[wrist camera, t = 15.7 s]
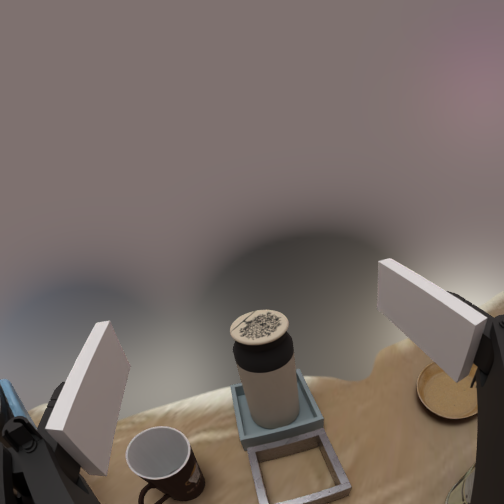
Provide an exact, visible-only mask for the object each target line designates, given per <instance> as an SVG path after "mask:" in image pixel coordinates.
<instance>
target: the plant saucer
mask: <svg viewBox="0 0 504 504" xmlns="http://www.w3.org/2000/svg"><path fill="white" fill-rule="evenodd" d="M477 368H478V367H477V366H476V365H475V364H474V363H473V365H472V368H471V370H470V373H469V375H468V376H466V377H465V378H463V379H462V380H461V381H459V382H458V383H456V382H455V381H454V380H453V379H452V378H451V377H450V376H449V375H448V374H447V373H446V372H445V371H444V370H443V369H441V368H440V367H439V366H438V365H437V364H436V363H435V362H434V361H433V362H432V363H430V364H429V365H427V366H426V367H425V368H424V369H423V370H422V371H421V373H420V375H419V377H418V380H417V392H418V395H419V397H420V399H421V401H422V403H423V404H424V405H425V406H426V407H427V408H428V409H429V410H430V411H431V412H433V413H434V414H436V415H438V416H440V417H443V418H448V419H462V418H466V417H470V416H472V415H474V414H476V413H478V408H477V388H476V382H475V383H474V385H473V388H470V386H471V382H472V380H473V378H474V375H475V373H476V370H477Z"/></svg>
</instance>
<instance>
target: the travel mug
mask: <svg viewBox="0 0 504 504" xmlns="http://www.w3.org/2000/svg"><path fill="white" fill-rule="evenodd" d="M288 325H289V323H288V320H287V318H286V317H285V316H284V315H283V314H282V313H280V312H277V311H273V310H259V311H254V312H250V313H247V314H245V315H243V316H241V317H239V318H238V319H236V320H235V321H234V322H233V324H232V325H231V328H230V333H231V336H232V337H233V339H234V340H235V343H234V346H233V352H234V356H235V360H236V364H237V368H238V371H239V375H240V379H241V382H242V386H243V389H244V393H245V396H246V400H247V403H248V407H249V410H250V414H251V417H252V419H253V421H254V422H255V423H256V424H257V425H259V426H261V427H264V428H268V429H276V428H280V427H284V426H287V425H289V424H290V423H292V422H293V421H294V420H295V419H296V418H297V416H298V414H299V410H300V407H299V397H298V387H297V377H296V368H295V359H294V349H293V341H292V338H291V336H290V335H289V334H288V333H287V329H288Z"/></svg>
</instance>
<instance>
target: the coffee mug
mask: <svg viewBox="0 0 504 504" xmlns="http://www.w3.org/2000/svg"><path fill="white" fill-rule="evenodd" d="M126 461H127V464H128V466H129V468H130V469H131V470H132V471H133V472H134V473H135V474H137V475H138V476H139V477H141V478H142V479H144V480H145V481H147V482H148V484H147V485H146V486H145V487H144V488H143V489H142V490H141V492H140V495H139V500H138V504H144V496H145V494H146V492H147V491H148V490H149V489H151V488H157V489H159V490H160V491H162V492H163V493H165V495H164V496H163V497H162V498H161V499H160V500H159V501H157V502H156V503H155V504H162V503H163V502H164V501H165V500H166V499H168V498H169V497H171V498H173V499H175V500H179V501H188V500H192V499H194V498H196V497H198V496H199V495H200V494H201V493H202V491H203V489H204V487H205V480H204V477H203V475H202V472H201V470H200V468H199V465H198V463H197V461H196V458H195V456H194V453H193V451H192V448H191V446H190V443H189V441H188V439H187V437H186V436H185V435H184V434H183V433H182V432H180V431H179V430H177V429H175V428H171V427H165V426H158V427H152V428H149V429H146V430H144V431H142V432H140V433H139V434H137V435H136V436H135V437H134V438H133V439H132V440H131V442H130V443H129V445H128V447H127V450H126Z"/></svg>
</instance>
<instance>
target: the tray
mask: <svg viewBox="0 0 504 504" xmlns="http://www.w3.org/2000/svg"><path fill="white" fill-rule="evenodd" d="M296 377H297V387H298V397H299V407H300V410H299V414H298V416H297V418H296V419H295V420H294V421H293V422H292V423H290V424H289V425H287V426H284V427H280V428H276V429H268V428H264V427H261V426H259V425H257V424H256V423H255V422H254V421H253V419H252V417H251V414H250V410H249V407H248V403H247V400H246V396H245V393H244V389H243V386H242V383H239V384H234V385H231V392H232V398H233V404H234V409H235V415H236V420H237V426H238V431H239V436H240V441H241V443H242V446H243V448H244V451H246V450H247V448H249V447H254V446H259V445H263V444H268V443H272V442H276V441H280V440H284V439H287V438H291V437H295V436H298V435H302V434H305V433H308V432H312V431H315V430H318V429H321V428H323V425H324V418H323V416H322V414H321V412H320V410H319V408H318V406H317V404H316V402H315V400H314V398H313V396H312V394H311V392H310V390H309V388H308V386H307V383H306V381H305V379H304V377H303V375H302V373H301V371H300V369H296Z"/></svg>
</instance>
